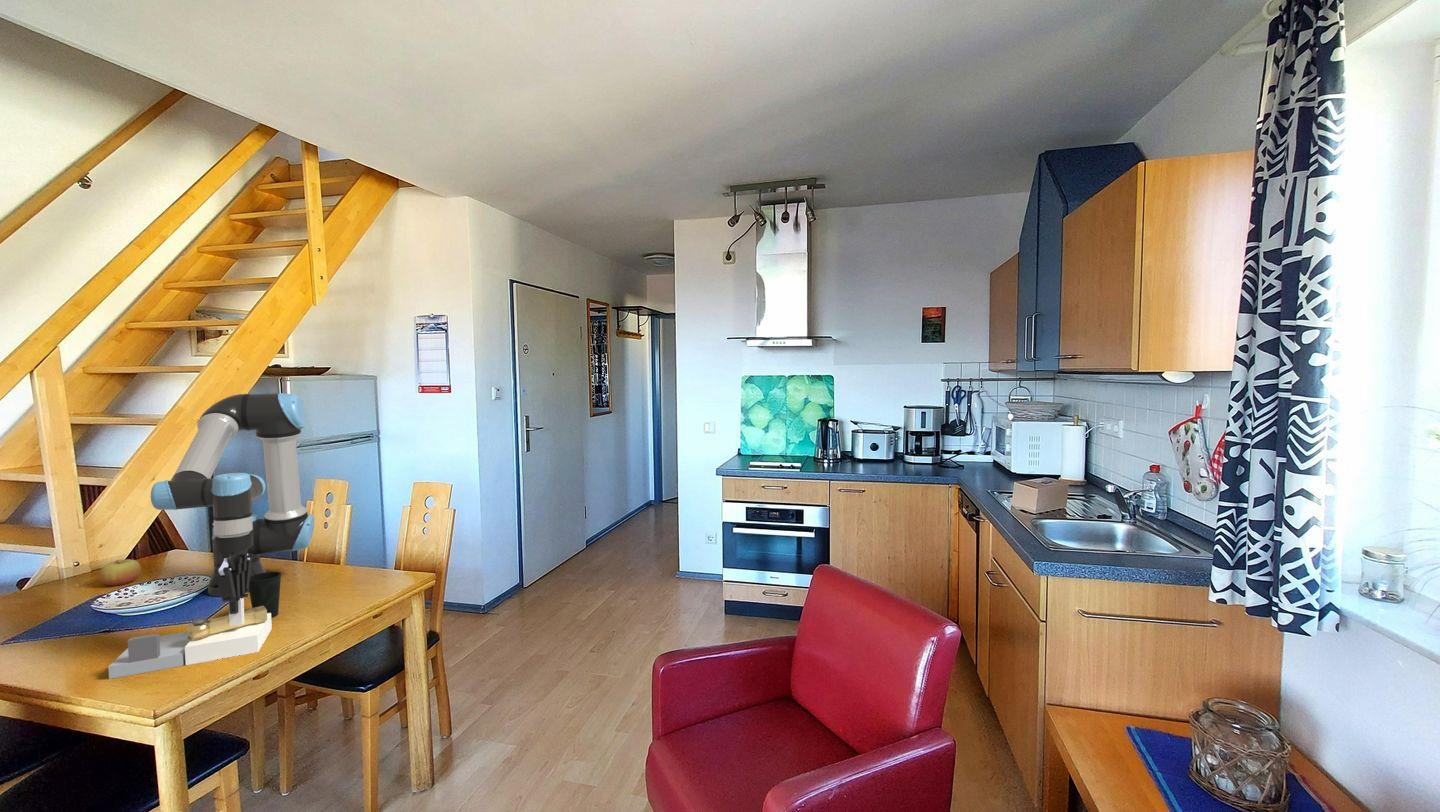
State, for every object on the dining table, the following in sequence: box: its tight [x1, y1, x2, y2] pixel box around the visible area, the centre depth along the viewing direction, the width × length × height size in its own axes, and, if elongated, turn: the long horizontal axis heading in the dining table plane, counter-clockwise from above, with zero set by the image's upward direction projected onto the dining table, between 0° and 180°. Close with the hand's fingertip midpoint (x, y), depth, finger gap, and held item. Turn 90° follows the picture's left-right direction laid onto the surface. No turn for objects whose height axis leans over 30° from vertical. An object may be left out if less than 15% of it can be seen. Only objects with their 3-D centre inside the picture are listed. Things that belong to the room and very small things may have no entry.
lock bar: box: [186, 606, 267, 640], centre depth 147 cm, size 4×15×3 cm, turn 139°
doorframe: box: [107, 613, 273, 680], centre depth 145 cm, size 15×28×9 cm, turn 118°
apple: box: [98, 558, 142, 587], centre depth 191 cm, size 10×10×8 cm
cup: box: [248, 571, 282, 619], centre depth 166 cm, size 8×8×12 cm
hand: (237, 624), depth 147 cm, fingers closed
